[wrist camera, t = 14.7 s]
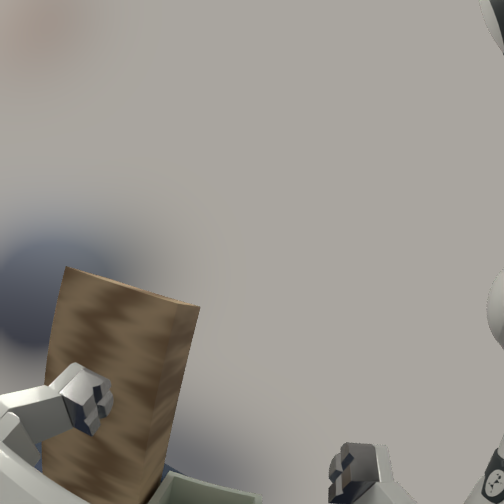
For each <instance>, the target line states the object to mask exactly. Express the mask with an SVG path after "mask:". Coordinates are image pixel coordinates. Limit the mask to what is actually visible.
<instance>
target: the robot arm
mask: <svg viewBox="0 0 504 504" xmlns="http://www.w3.org/2000/svg"><path fill="white" fill-rule="evenodd" d="M479 4H480V8H481V12H482V15H483V18H484V21H485V23H486V26H487V28H488V30H489V32H490V34H491V35H492V37H493V39H494V40H495V42H496V43H497V45H498V46H499V48H500V49H501V50H502V52H503V55H504V0H479ZM487 319H488V324H489V327H490V330H491V332H492V334H493V336H494V338H495V339H496V340H497V341H498V342H499V344H500V345H501V346H502V348H503V349H504V269H503V270H502V271H501V272H500V273H499V275H498V276H497V277H496V279H495V281H494V282H493V284H492V287H491V289H490V292H489V296H488V301H487ZM111 387H112V386H111V381H110V380H109V379H107V378H105V377H103V376H101V375H99V374H97V373H95V372H93V371H91V370H89V369H87V368H86V367H84V366H82V365H80V364H78V363H76V362H75V363H72V364H70V365H69V366H68V367H67V368H66V369H65V370H64V371H63V372H62V373H61V374H60V375H59V376H58V377H57V378H56V379H55V380H54V381H53V382H52V383H51V384H50V385H49V386H46V385H43V386H39V387H35V388H31V389H27V390H23V391H18V392H14V393H9V394H4V395H0V504H90V503H89V502H87V501H85V500H83V499H82V498H80V497H78V496H76V495H75V494H73V493H71V492H70V491H68V490H66V489H65V488H63V487H62V486H60V485H58V484H57V483H55V482H54V481H52V480H51V479H49V478H48V477H46V476H45V475H44V474H42V473H41V472H39V471H38V470H37V469H35V468H34V466H35V465H36V463H37V462H38V461H39V459H40V458H41V457H40V453H39V452H38V450H37V448H36V447H35V445H34V444H37V443H39V442H42V441H44V440H47V439H49V438H51V437H54V436H56V435H58V434H61V433H63V432H65V431H68V430H70V429H72V428H73V427H74V428H76V429H78V430H80V431H82V432H84V433H85V434H87V435H89V436H91V437H93V435H94V434H95V432H96V431H97V430H98V428H99V427H100V426H101V422H100V419H102V418H105V417H107V416H108V414H109V413H110V411H111V409H112V406H113V400H114V399H113V394H112V393H111V391H110V390H109V389H110V388H111ZM329 479H330V480H331V481H332V483H333V484H332V485H331V486H330V487H329V493H328V494H329V495H328V496H329V497H328V503H333V504H418V503H417V502H416V501H415V500H414V499H413V498H412V497H411V496H410V495H409V493H407V491H406V490H405V489H404V488H403V487H402V486H401V485H400V484H399V483H398V482H394V479H393V473H392V467H391V461H390V456H389V450H388V447H387V446H386V445H372V444H360V443H359V444H358V443H345V444H343V446H342V447H341V453H339V454H337V455H335V457H334V458H333V459H332V462H331V464H330V468H329ZM463 504H504V435H503V438H502V440H501V443H500V446H499V448H497V449H496V450H495V452H494V454H493V456H492V457H491V459H490V461H489V464H488V467H487V469H486V471H485V475H484V476H482V477H481V478H480V479H479V480H478V482H477V483H476V485H475V487H474V488H473V490H472V491H471V493H470V494H469V496H468V497H467V499H466V500H465V502H464V503H463Z"/></svg>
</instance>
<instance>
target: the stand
mask: <svg viewBox="0 0 504 504" xmlns="http://www.w3.org/2000/svg"><path fill="white" fill-rule="evenodd" d="M199 311H200V307H199V306H196V305H192V304H188V303H185V302H182V301H178V300H175V299H172V298H168V297H165V296H162V295H158V294H155V293H152V292H149V291H145V290H142V289H139V288H136V287H133V286H130V285H126V284H124V283H120V282H118V281H114V280H112V279H108V278H105V277H102V276H98V275H94V274H91V273H87V272H83V271H81V270H77V269H74V268H70V267H67V266H66V268H65V271H64V275H63V279H62V283H61V287H60V291H59V296H58V300H57V305H56V310H55V315H54V320H53V325H52V330H51V337H50V342H49V349H48V356H47V364H46V372H45V382H44V385H46V386H49V385H50V384H51V383H52V382H53V381H54V380H55V379H56V378H57V377H58V376H59V375H60V374H61V373H62V372H63V371H64V370H65V369H66V368H67V367H68V366H69V365H70V364H72V363H75V362H76V363H78V364H80V365H82V366H84V367H86V368H87V369H89V370H91V371H93V372H95V373H97V374H99V375H101V376H103V377H105V378H107V379H109V380H110V381H111V386H112V387H111V388H110V389H109V390H110V391H111V393H112V394H113V399H114V400H113V406H112V409H111V411H110V413H109V414H108V416H107V417H105V418H102V419H100V422H101V426H100V427H99V428H98V430H97V431H96V432H95V434H94V435H93V437H91V436H89V435H87V434H85V433H84V432H82V431H80V430H78V429H76V428H74V427H73V428H72V429H70V430H68V431H65V432H63V433H61V434H58V435H56V436H54V437H51V438H49V439H47V440H44V441H42V468H43V474H44V475H45V476H46V477H48V478H49V479H51V480H52V481H54V482H55V483H57V484H58V485H60V486H62V487H63V488H65V489H66V490H68V491H70V492H71V493H73V494H75V495H76V496H78V497H80V498H82V499H83V500H85V501H87V502H89V503H90V504H148V502H149V501H150V499H151V498H152V496H153V495H154V493H155V492H156V490H157V489H158V488H159V486H160V482H161V477H162V472H163V467H164V462H165V457H166V452H167V447H168V442H169V438H170V433H171V428H172V423H173V419H174V415H175V410H176V406H177V401H178V396H179V393H180V388H181V384H182V380H183V375H184V371H185V367H186V363H187V359H188V355H189V350H190V346H191V342H192V338H193V334H194V330H195V326H196V322H197V318H198V315H199Z"/></svg>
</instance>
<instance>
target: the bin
mask: <svg viewBox="0 0 504 504" xmlns="http://www.w3.org/2000/svg"><path fill="white" fill-rule="evenodd" d="M148 504H262V495H260V494H255V493H250V492H244V491H240V490H235V489H231V488H227V487H223V486H219V485H214V484H211V483H207V482H204V481H200V480H197V479H194V478H190V477H187V476H184V475H181V474H178V473H175V472H172V471H169V472H168V474H167V475H166V477H165V479H164V480H163V482H162V483H161V485H160V486H159V488H158V489H157V490H156V492H155V493H154V495H153V496H152V498H151V499H150V501H149V502H148Z"/></svg>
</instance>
